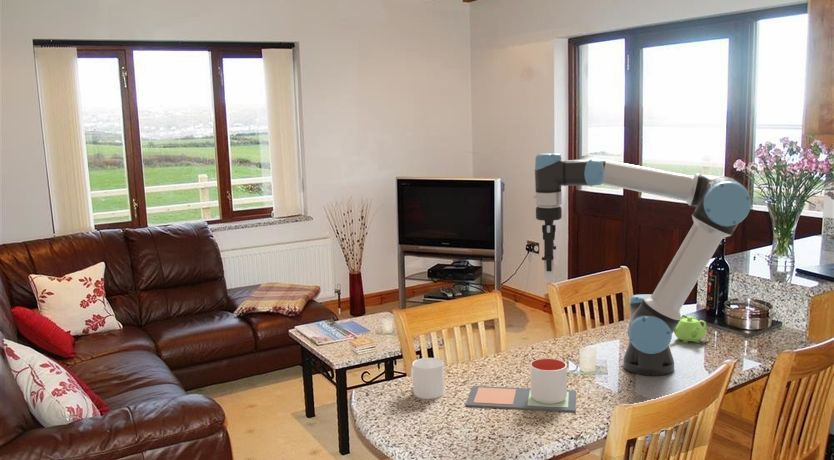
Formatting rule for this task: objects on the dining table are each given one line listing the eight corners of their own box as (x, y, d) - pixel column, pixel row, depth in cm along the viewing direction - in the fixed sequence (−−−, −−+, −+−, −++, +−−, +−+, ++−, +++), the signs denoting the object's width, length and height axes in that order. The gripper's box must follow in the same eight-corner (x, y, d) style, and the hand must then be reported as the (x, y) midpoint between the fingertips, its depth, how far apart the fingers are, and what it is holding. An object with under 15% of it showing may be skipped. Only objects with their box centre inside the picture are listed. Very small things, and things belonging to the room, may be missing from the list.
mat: (575, 392, 210) (575, 390, 210) (575, 412, 197) (575, 409, 197) (472, 387, 217) (472, 385, 217) (465, 406, 204) (465, 404, 204)
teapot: (712, 339, 251) (713, 316, 250) (697, 348, 243) (697, 323, 242) (681, 333, 259) (682, 310, 258) (665, 341, 251) (666, 317, 250)
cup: (566, 406, 199) (566, 371, 198) (529, 404, 201) (529, 370, 200) (566, 392, 209) (566, 358, 207) (531, 390, 211) (531, 357, 209)
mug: (450, 394, 212) (449, 364, 211) (423, 402, 208) (422, 370, 206) (429, 382, 222) (427, 353, 221) (403, 388, 218) (401, 359, 216)
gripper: (537, 200, 228) (538, 267, 231) (534, 212, 204) (535, 286, 207) (561, 200, 226) (562, 267, 230) (561, 212, 202) (562, 286, 206)
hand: (549, 276), depth 219 cm, fingers open, 13 cm apart
